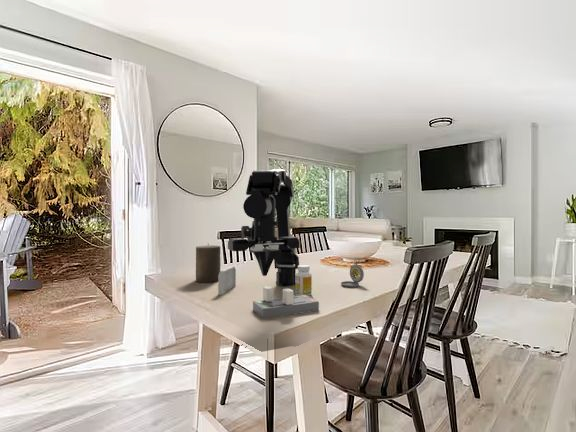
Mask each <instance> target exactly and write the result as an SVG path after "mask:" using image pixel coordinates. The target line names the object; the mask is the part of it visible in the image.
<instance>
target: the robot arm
mask: <svg viewBox="0 0 576 432" xmlns="http://www.w3.org/2000/svg"><path fill="white" fill-rule="evenodd" d="M294 193H295V188H294V184H293V179H291V178H290V177H289V176H288V175H287V173H286V169H285V170H284V169H283V168H281V169H275V168H274V169H270V170H268V169H267V170H265V169H264V170H253V171H251V174H249V178H248V182H247V187H246V191H245V195H247V197H246V199H245V200H244V202H243V206H242V207H243V211H244V214H245V215H246V216H247V217H249V218H251V219H253V220H252V223H251V227H250V226H249V225H242V226H241V228H240V229H241V230H240V233H241V234H240V235H241V237H239V238H238V237H236V238H229V239H228V241H227V249H228V250H230V251H232V252H246V251H247V250H248V252H250V253H253V255H254V257H255V258H256V261H257V263H258V264H257V265H258V266H259V269H260V273H261V275H262V276H263V277H266V276H267V275H268V272H269V271H270V269H271V266H272V263H273V262H274V269H277V271H276V275H275V276H276V278H275V279H276V281H275V284H277V285H278V286H281V287H286V286H287V287H288V286H296V273H297V271H296V270H298V266H299V265H300V260H299V259H300V257H299V256H298V253H297V252H296V249H300V247H301V241H300V239H299V237H295V236H291V228H290V227H291V224H290V212H289V207H290V206H291V203H292V200H293V197H294V196H295V195H294ZM276 226H277V236H276Z"/></svg>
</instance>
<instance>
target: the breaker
mask: <svg viewBox="0 0 576 432" xmlns="http://www.w3.org/2000/svg"><path fill="white" fill-rule="evenodd" d="M273 299H274V288H273V287H271V286H270V285H266V286H262V300H265V301H266V302H268V301H273Z"/></svg>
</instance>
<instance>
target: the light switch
mask: <svg viewBox="0 0 576 432" xmlns="http://www.w3.org/2000/svg"><path fill="white" fill-rule="evenodd" d="M236 272H237V271H236V266H234V265H232V266H231V265H230V266H228V267H225V268H223V269H220V272H219V275H218V281H217V284H218V286H217V287H218V289H217V291H218V292H217V293H218V295H220V296H224V295H225V293H226V292H228V291H229V290H231V289H232V288H233V289H234V288H235V287H236V286H237V285H236V284H237V283H236V282H237V280H236V277H237V276H236V275H237V274H236Z"/></svg>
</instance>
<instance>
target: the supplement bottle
mask: <svg viewBox="0 0 576 432" xmlns="http://www.w3.org/2000/svg"><path fill="white" fill-rule="evenodd" d="M312 276H313V275H312V273H311V272H310V265H308V264H299V266H298V269H297V271H296V281H295V282H296V285H295V296H300V295H307V296H309V297H311V295H312V294H313V293H312V283H313V282H312V280H313V279H312V278H313V277H312Z"/></svg>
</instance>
